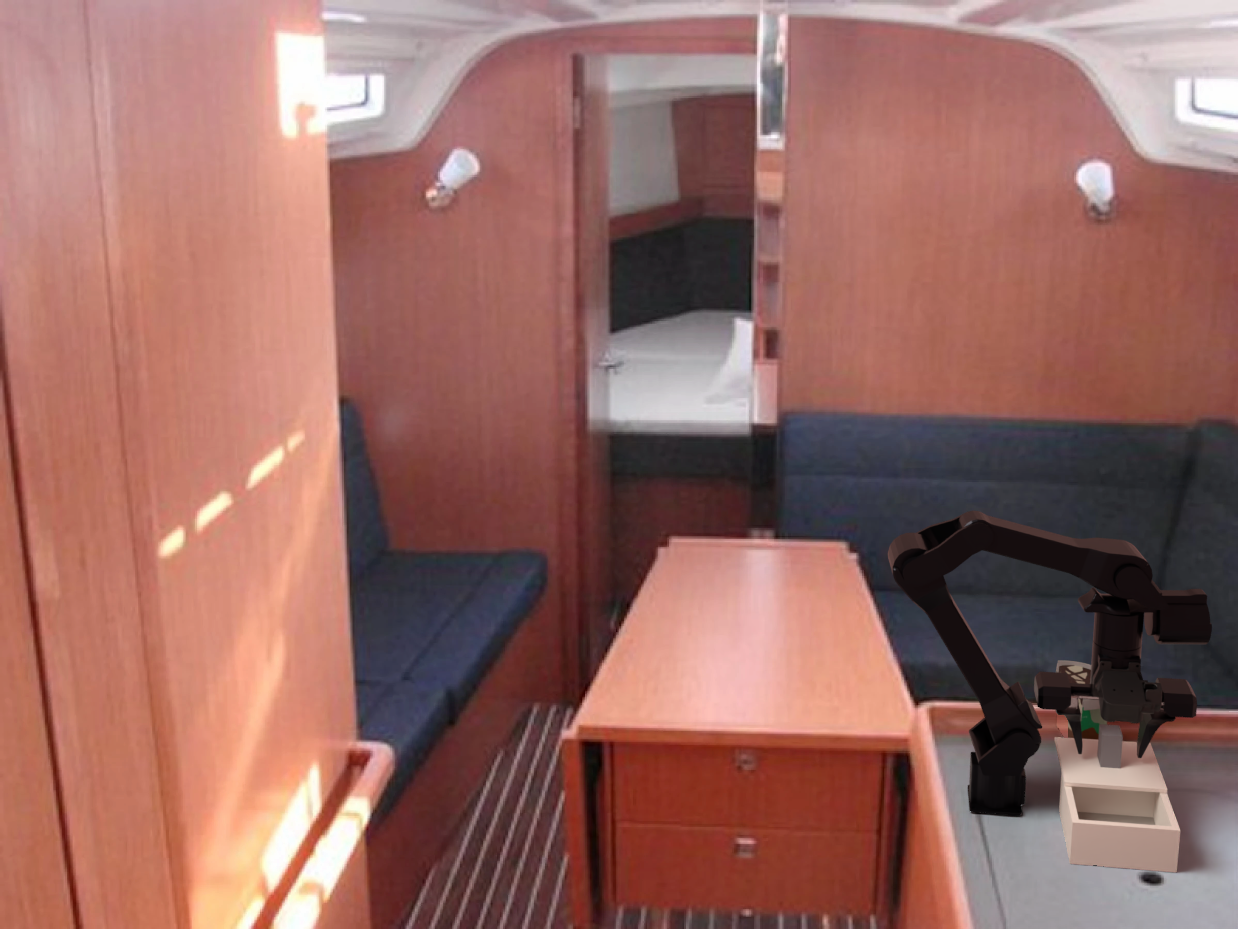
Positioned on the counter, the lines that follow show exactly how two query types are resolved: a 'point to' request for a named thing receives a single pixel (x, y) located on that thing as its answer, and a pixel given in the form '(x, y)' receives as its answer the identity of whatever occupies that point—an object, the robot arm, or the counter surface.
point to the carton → (1119, 828)
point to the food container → (1087, 706)
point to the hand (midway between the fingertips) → (1109, 754)
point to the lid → (1109, 763)
